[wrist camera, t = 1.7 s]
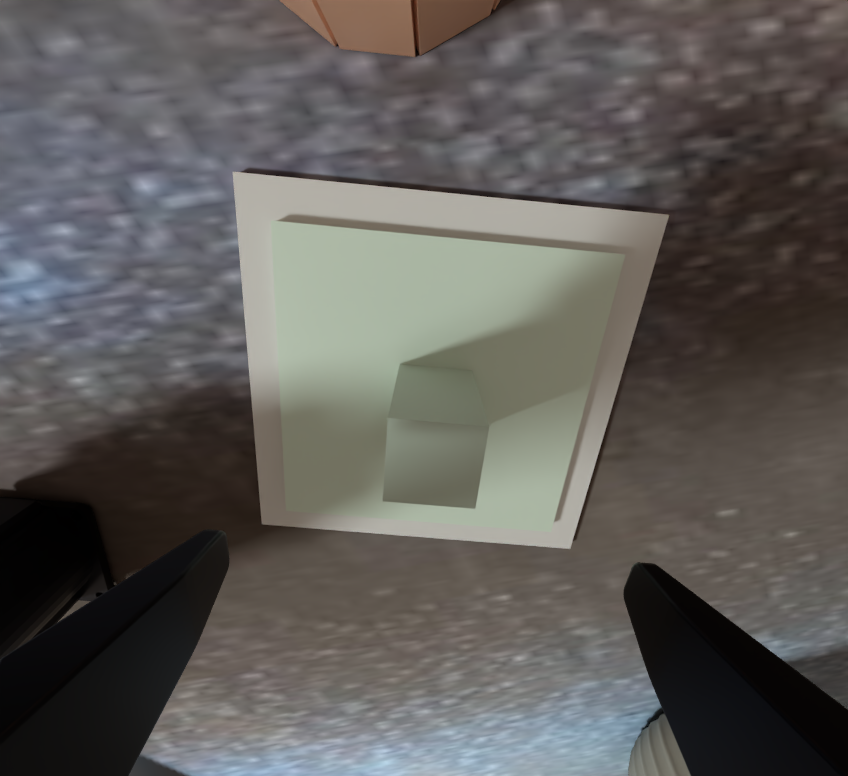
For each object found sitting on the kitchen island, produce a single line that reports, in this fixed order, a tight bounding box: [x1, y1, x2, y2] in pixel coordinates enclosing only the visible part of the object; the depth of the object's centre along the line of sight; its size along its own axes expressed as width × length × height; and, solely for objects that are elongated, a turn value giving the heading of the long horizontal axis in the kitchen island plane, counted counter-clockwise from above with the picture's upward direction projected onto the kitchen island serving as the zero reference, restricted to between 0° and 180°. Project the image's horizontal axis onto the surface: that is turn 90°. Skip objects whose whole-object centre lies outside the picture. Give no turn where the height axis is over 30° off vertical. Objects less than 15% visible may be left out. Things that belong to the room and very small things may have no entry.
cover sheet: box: [271, 221, 625, 532], centre depth 15 cm, size 13×13×6 cm
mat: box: [233, 172, 669, 549], centre depth 17 cm, size 16×16×1 cm
